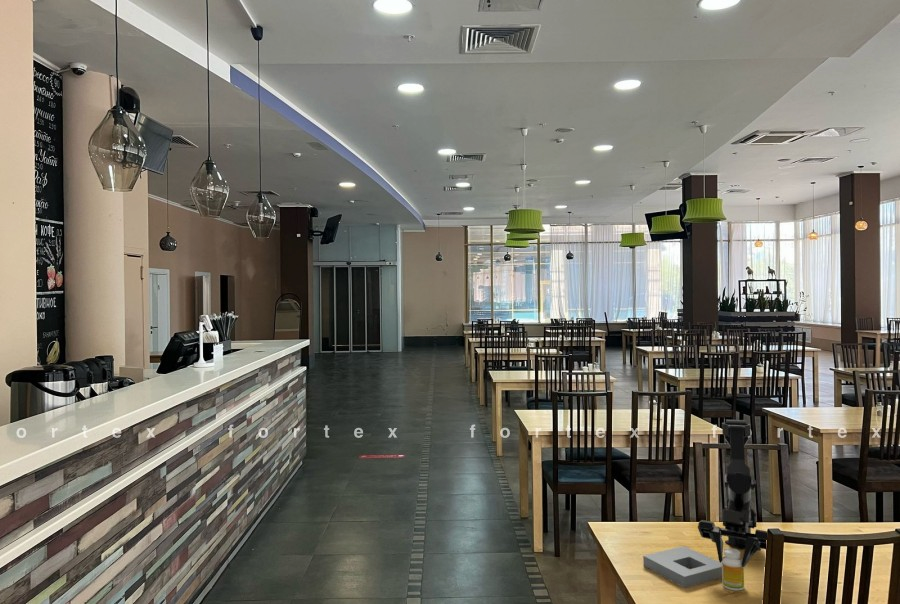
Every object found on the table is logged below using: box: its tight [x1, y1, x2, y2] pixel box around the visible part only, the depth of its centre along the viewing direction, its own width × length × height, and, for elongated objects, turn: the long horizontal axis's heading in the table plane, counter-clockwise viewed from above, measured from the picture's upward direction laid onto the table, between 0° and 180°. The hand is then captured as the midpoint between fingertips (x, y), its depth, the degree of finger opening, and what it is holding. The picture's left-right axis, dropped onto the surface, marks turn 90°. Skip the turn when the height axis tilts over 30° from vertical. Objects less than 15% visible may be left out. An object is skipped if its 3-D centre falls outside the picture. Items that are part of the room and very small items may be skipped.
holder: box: [642, 545, 722, 589], centre depth 177 cm, size 16×16×3 cm
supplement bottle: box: [721, 547, 745, 592], centre depth 166 cm, size 5×5×10 cm
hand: (731, 564), depth 165 cm, fingers closed on supplement bottle, 5 cm apart
